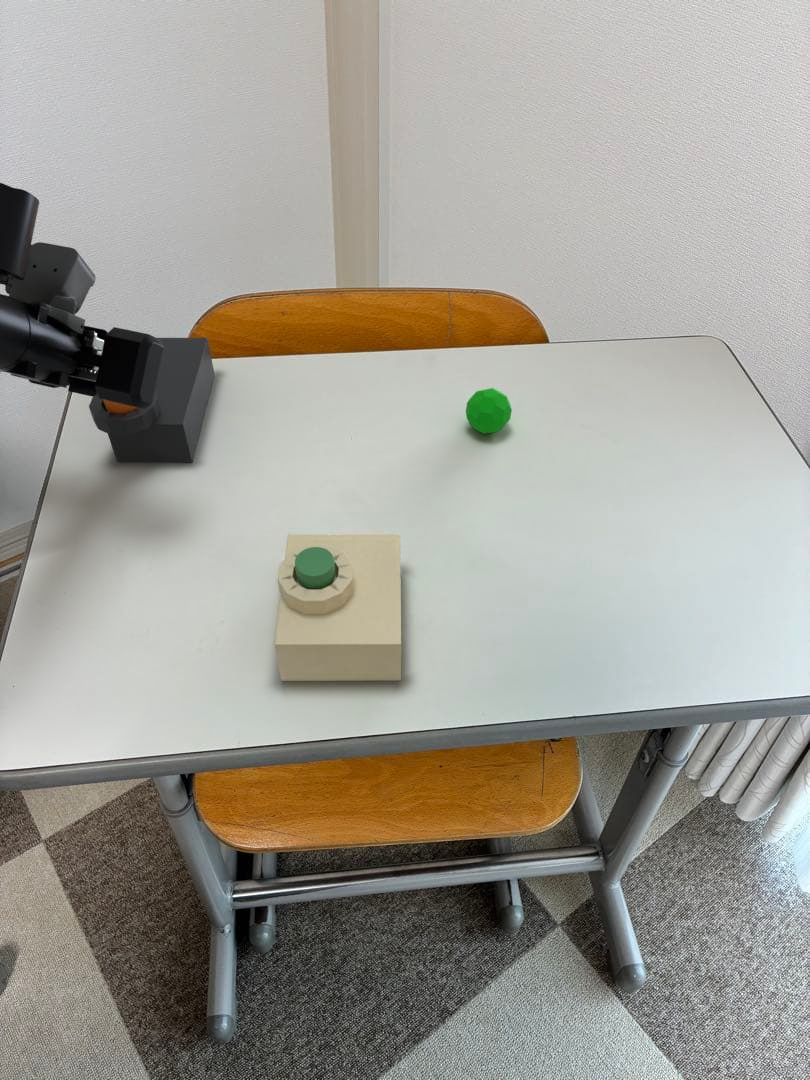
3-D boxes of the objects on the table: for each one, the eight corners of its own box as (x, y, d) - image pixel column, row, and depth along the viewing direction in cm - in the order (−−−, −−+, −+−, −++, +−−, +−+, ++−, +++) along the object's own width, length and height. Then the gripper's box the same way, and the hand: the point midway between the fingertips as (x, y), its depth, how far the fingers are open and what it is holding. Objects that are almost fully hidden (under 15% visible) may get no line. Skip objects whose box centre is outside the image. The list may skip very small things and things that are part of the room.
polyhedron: (475, 446, 87) (478, 411, 84) (457, 419, 91) (460, 385, 87) (516, 436, 89) (521, 401, 85) (497, 410, 92) (501, 375, 88)
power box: (280, 681, 66) (271, 630, 61) (292, 572, 75) (285, 519, 70) (400, 680, 67) (401, 630, 61) (399, 572, 75) (400, 519, 70)
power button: (295, 590, 65) (293, 576, 63) (298, 560, 67) (296, 546, 66) (334, 589, 65) (333, 575, 63) (336, 560, 67) (335, 546, 66)
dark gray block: (101, 473, 84) (82, 420, 79) (137, 374, 96) (123, 323, 91) (189, 473, 84) (176, 421, 79) (214, 375, 96) (205, 323, 91)
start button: (101, 415, 80) (97, 401, 79) (110, 393, 82) (106, 379, 81) (137, 415, 80) (133, 401, 79) (145, 393, 82) (141, 379, 81)
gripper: (124, 249, 60) (215, 307, 76) (-80, 212, 64) (46, 274, 79) (94, 394, 61) (190, 422, 76) (-107, 349, 65) (24, 384, 80)
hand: (111, 372), depth 78 cm, fingers closed
